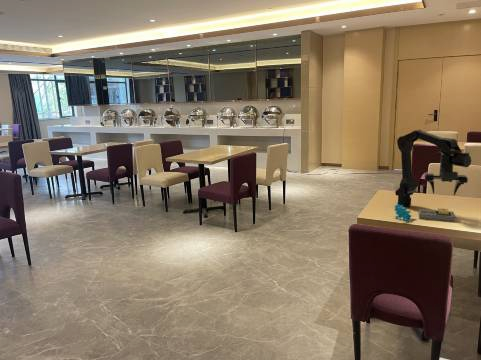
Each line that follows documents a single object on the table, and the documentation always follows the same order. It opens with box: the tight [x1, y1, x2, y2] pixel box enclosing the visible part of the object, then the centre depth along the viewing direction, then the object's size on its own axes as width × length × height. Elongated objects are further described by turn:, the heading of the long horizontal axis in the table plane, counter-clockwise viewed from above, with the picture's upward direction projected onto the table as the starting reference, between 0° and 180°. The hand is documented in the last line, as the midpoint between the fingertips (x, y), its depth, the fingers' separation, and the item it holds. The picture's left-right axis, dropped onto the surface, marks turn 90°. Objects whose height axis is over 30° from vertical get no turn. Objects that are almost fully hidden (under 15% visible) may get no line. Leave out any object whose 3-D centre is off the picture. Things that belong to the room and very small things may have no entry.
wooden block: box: [437, 207, 450, 216], centre depth 188 cm, size 4×4×5 cm
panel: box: [418, 208, 457, 223], centre depth 189 cm, size 16×9×3 cm, turn 68°
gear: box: [393, 203, 412, 222], centre depth 188 cm, size 11×6×10 cm
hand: (443, 194), depth 188 cm, fingers open, 9 cm apart
